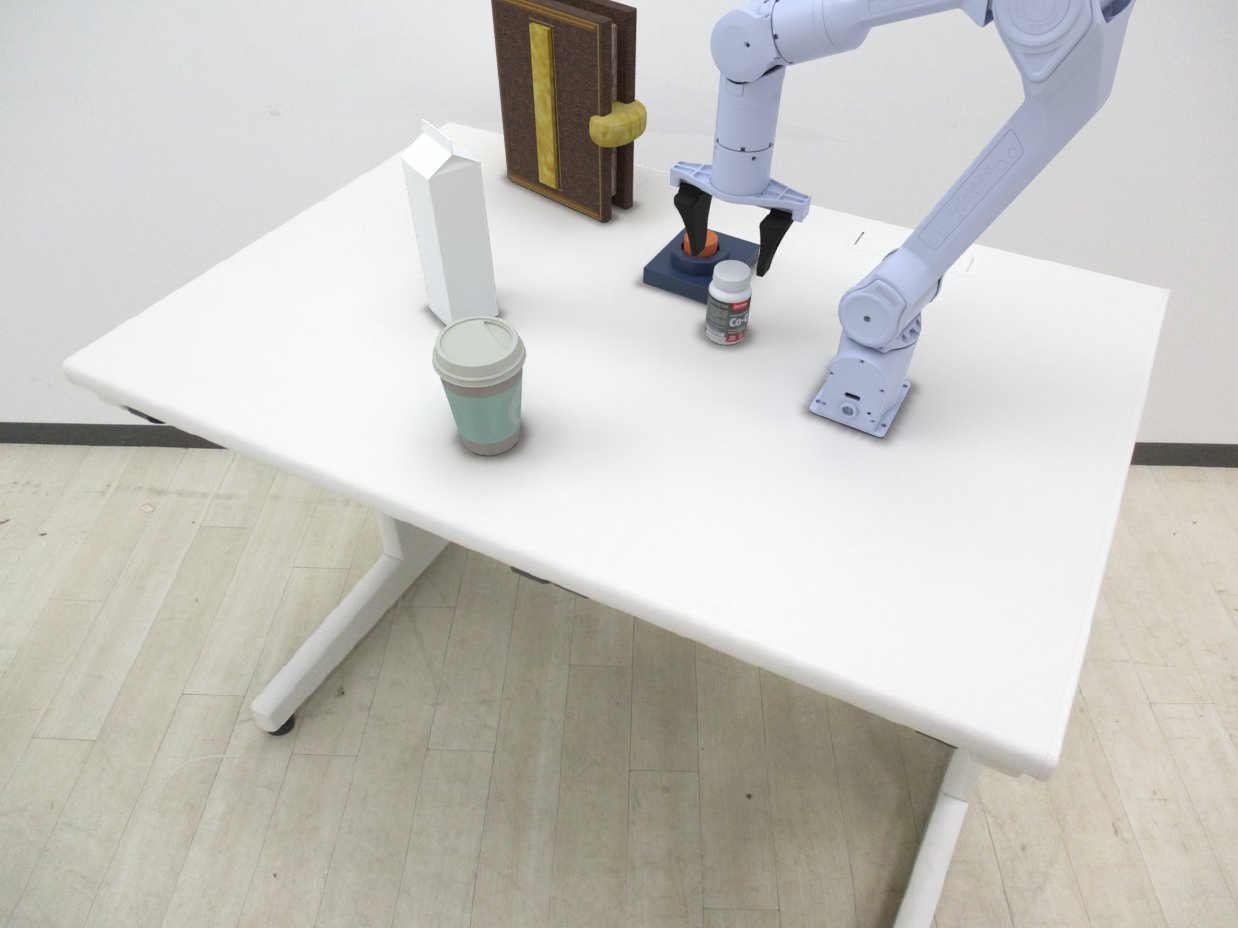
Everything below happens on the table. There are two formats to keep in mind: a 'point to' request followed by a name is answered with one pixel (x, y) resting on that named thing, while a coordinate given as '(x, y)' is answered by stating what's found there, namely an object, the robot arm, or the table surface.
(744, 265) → the pill bottle
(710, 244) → the orange push button
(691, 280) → the block
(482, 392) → the coffee cup
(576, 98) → the book
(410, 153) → the milk
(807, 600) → the table surface
